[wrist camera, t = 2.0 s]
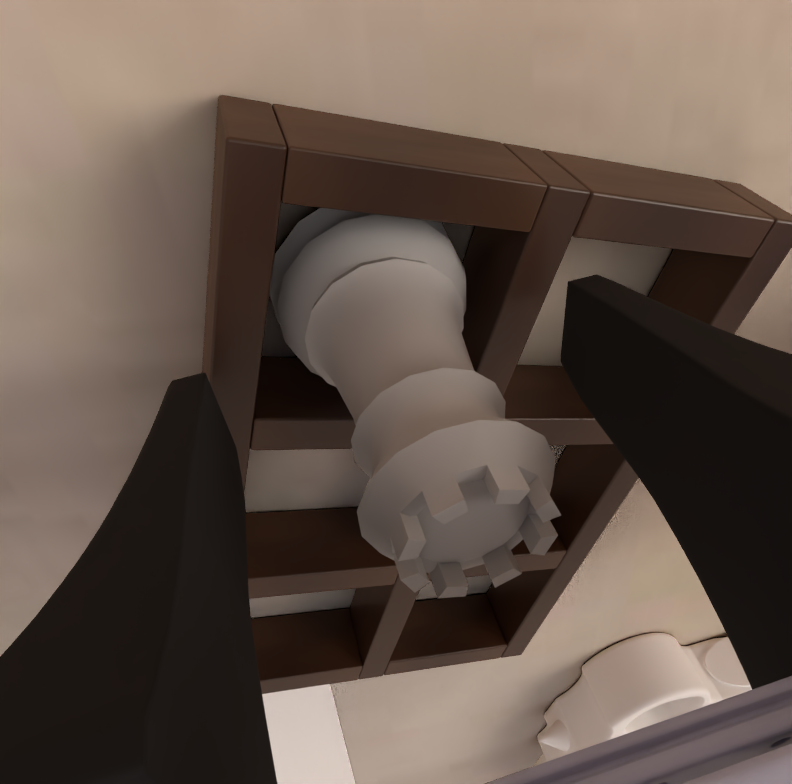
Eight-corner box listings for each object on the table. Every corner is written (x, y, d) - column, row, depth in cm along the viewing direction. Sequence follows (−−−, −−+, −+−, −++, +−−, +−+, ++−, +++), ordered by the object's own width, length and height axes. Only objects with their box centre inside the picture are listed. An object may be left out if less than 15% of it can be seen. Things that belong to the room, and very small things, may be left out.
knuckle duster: (687, 722, 47) (506, 779, 45) (778, 594, 35) (537, 663, 33) (715, 770, 45) (525, 834, 42) (823, 650, 33) (567, 729, 30)
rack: (740, 183, 16) (808, 224, 14) (499, 603, 27) (521, 655, 26) (218, 93, 12) (226, 136, 10) (186, 640, 23) (187, 706, 21)
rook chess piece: (396, 367, 17) (511, 636, 11) (237, 323, 15) (279, 628, 9) (484, 225, 15) (681, 466, 9) (314, 149, 13) (431, 402, 7)
